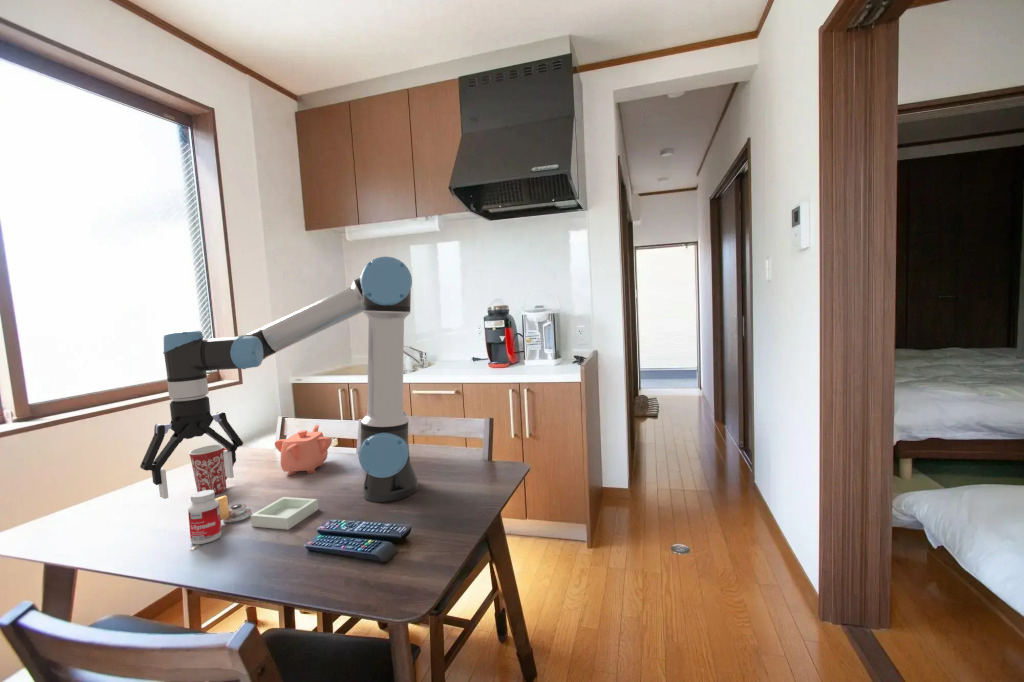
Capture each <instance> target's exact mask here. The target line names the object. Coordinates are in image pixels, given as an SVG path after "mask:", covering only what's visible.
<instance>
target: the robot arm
mask: <svg viewBox="0 0 1024 682" xmlns="http://www.w3.org/2000/svg"><path fill="white" fill-rule="evenodd" d="M412 284H413V277H412V273H411V271H410V269H409V268H408V267H407V265H406V264H405V263H404V262H403V261H401V260H400V259H398V258H395V257H392V256H380V257H379V256H378V257H376V258H373V259H371V260H370V261H368V263H367V264H365V266H364V267H363V269H362V271H361V273H360V276H359V277H358V278H355V279H354V280H352V284H351V285H350V286H348V287H346V288H344V289H342V290H339V291H337V292H335V293H333V294H331V295H329V296H327V297H324V298H321V299H320V300H318V301H316V302H313V303H311V304H309V305H307V306H304V307H303V308H301V309H299V310H296V311H294V312H292V313H290V314H288V315H286V316H283V317H280V318H279V319H276V320H275V321H272V322H271V323H268V324H266V325H264V326H262V327H260V328H257V329H255V330H252V331H250V332H249V333H245V334H243V335H238V336H237V335H235V336H228V337H227V336H226V337H217V338H216V337H215V338H207V337H206V338H205V337H204V334H203V332H202V331H200V330H182V331H170V332H167V333H165V334H164V335H163V356H164V362H165V371H166V378H167V379H166V380H167V381H166V382H167V390H168V398H169V399H170V402H169V409H170V419H171V421H170V423H163V424H162V423H155V425H154V433H153V434H154V435H153V437H152V439H151V441H150V443H149V445H148V448H147V450H146V452H145V455H144V457H143V459H142V461H141V464H140V466H139V467H140V469H142V470H143V471H150V472H151V477H152V483H153V484H154V485H155V486H158V491H159V497H160V498H162V499H163V500H166V499H169V490H168V489H169V488H168V481H167V480H168V479H167V472H166V469H165V468H163V466H164V465H165V464H166V462H167V461H168V459H169V458H170V457H171V455H172V454H173V453H174V451H175V450H176V448H177V447H178V445H179V444H180V443H182V442H183V441H184V439H185V440H189V439H193V438H195V437H202V436H204V434H205V435H207V436H209V438H211V439H212V440H214V441H216V442H217V443H218V444H221V445H222V446H224V448H226V449H227V450H225V451H223V455H224V466H225V476H226V477H228V478H229V479H233V478H235V473H234V466H233V463H234V464H235V463H236V462H237V457H236V456H237V454H235V453H236V451H237V450H238V448H239V447H242V446H243V445H244V441H243V440H242V439H241V438H240V436H239V435H238V434H237V432H236V430H235V429H234V428H233V427H232V424H230V423H229V421H228V419H227V414H226V413H225V412H222V411H217V412H216V413H214V414H212V413H211V405H210V397H209V396H208V394H209V384H208V376H207V371H209V372H210V371H211V372H212V371H222V370H240V369H241V370H247V369H253V368H258V367H259V366H261V364H262V363H263V361H264V360H265V359H267V358H268V357H270V356H272V355H275V354H276V353H278V352H281V351H283V350H285V349H287V348H289V347H291V346H293V345H295V344H297V343H299V342H302V341H303V340H306V339H309V338H310V337H312V336H315V335H317V334H319V333H321V332H323V331H325V330H328V329H329V328H331V327H334V326H335V325H338V324H340V323H343V322H344V321H347V320H348V319H351V318H353V317H355V316H357V315H359V314H361V313H363V314H364V315H365V317H367V319H368V325H367V326H368V330H367V331H368V332H367V333H368V335H367V336H368V338H367V341H368V343H367V344H368V345H367V403H366V404H367V406H366V408H367V413H366V415H364V417H363V418H362V419H361V420H360V444H359V445H360V446H359V448H358V453H357V454H358V456H357V457H358V462H359V464H360V467H361V468H362V470H363V471H364V472H366V475H365V479H364V482H363V483H364V484H363V487H362V488H363V489H362V490H363V497H364V498H365V500H367V501H369V502H375V503H385V502H386V503H387V502H388V503H389V502H394V501H398V500H402V499H404V498H408V497H410V496H411V495H414V493H416V492H417V491H418V489H419V481H418V477H417V475H416V473H415V470H414V467H413V466H412V463H411V459H410V448H409V446H410V445H409V418H408V417H407V414H406V412H405V411H404V409H403V404H404V402H403V400H404V398H403V397H404V393H403V392H404V355H405V354H404V347H405V345H404V342H405V341H404V339H405V336H404V335H405V320H406V318H407V317H408V316H409V315H410V314H411V303H412V302H411V301H412V300H411V299H412V297H411V296H412V294H411V292H412V291H411V290H412ZM213 421H215V422H216V423H218V425H219V426H220V427H221V429H222V430H223V432H224V433H225V434H226V436H227V437H228V438H229V440H231V442H230V441H229V440H228V439H226V438H225V437H223V436H222V435H221V434H219V433H218V432H217V431H216V430H215V429H213V427H210V426H211V425H212V424H213ZM169 430H171V431H173V433H172V435H171V436H170V438H169V440H168V442H167V443H166V445H164V447H163V448H162V450H161V451H160V453H159V454H158V452H159V450H160V448H161V446H162V444H163V441H164V438H165V436H166V434H168V432H169ZM228 478H227V479H228Z"/></svg>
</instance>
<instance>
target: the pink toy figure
mask: <svg viewBox="0 0 1024 682" xmlns="http://www.w3.org/2000/svg"><path fill="white" fill-rule="evenodd" d="M319 427H320V424H316V425H315V426H314V427H313V429H312V431H308V430H307V429H306V430H305V429H304V430H299V431H297V433H294V434H293V435H291V436H289V437H287V438H285V439H284V438H283V439H282V438H281V439H277V440H276V441H275V442H274V446H275V448H276V449H277V451H278V452H279V453H280V468H281V469H282V471H283V472H288V473H287V475H288V476H289V475H290V476H291V475H296V474H297V472H301V471H302V472H305V471H306V474H309V475H311V474H314V473H316V471H317V470H316V468H318V467H323V466H324V465H325V464H324V462H326V460H327V458H328V454H329V452H328V451H329V448H330V447H331V445H332V443H333V439H332V437H329V436H324V433H323V432H322V431H319Z"/></svg>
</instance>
